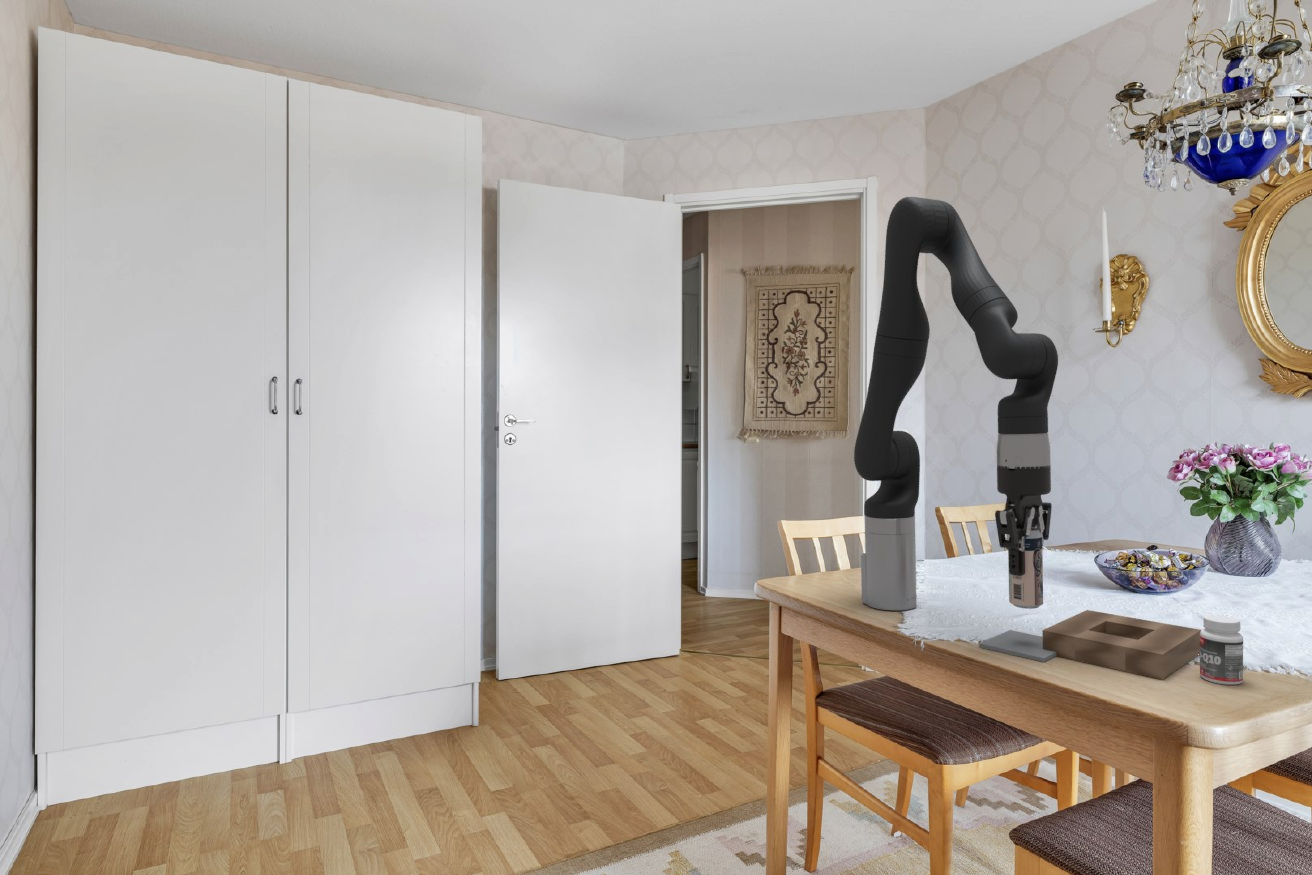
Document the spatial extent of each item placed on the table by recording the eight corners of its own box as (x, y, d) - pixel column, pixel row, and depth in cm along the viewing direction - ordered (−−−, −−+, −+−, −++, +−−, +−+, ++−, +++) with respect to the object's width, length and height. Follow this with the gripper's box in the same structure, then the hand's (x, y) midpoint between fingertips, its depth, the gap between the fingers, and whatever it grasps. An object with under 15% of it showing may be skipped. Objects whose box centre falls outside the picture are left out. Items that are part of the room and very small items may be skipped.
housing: (1042, 652, 117) (1042, 630, 117) (1087, 630, 127) (1087, 609, 127) (1162, 679, 105) (1162, 654, 105) (1201, 652, 115) (1201, 629, 115)
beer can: (1047, 610, 117) (1046, 531, 116) (1013, 609, 118) (1012, 531, 117) (1038, 601, 122) (1037, 526, 121) (1005, 601, 123) (1004, 526, 122)
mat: (979, 647, 121) (979, 643, 121) (1010, 633, 127) (1010, 629, 127) (1044, 662, 113) (1044, 658, 113) (1073, 646, 119) (1073, 643, 119)
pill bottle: (1191, 674, 106) (1190, 614, 106) (1223, 672, 107) (1222, 612, 106) (1219, 686, 102) (1218, 624, 101) (1252, 684, 102) (1252, 622, 102)
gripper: (1021, 458, 126) (1022, 561, 127) (976, 465, 117) (978, 576, 118) (1068, 460, 121) (1070, 568, 121) (1025, 467, 111) (1027, 583, 112)
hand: (1025, 571), depth 120 cm, fingers closed on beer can, 4 cm apart
